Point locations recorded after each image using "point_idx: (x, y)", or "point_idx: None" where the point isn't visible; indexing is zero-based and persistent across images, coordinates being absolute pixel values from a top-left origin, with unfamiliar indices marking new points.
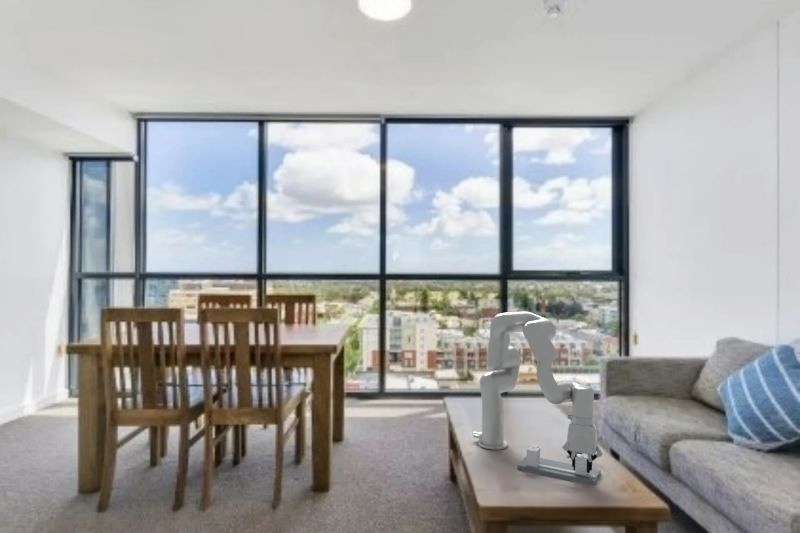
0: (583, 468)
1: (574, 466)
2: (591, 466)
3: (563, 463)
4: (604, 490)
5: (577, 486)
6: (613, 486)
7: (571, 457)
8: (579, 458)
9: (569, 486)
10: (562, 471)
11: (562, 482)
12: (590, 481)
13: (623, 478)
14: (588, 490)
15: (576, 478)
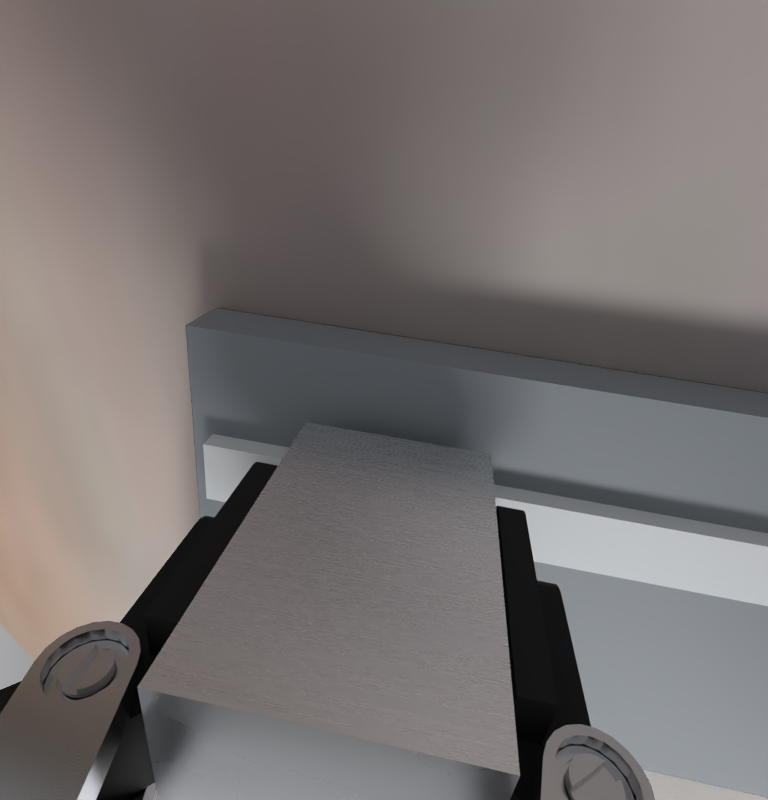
0: (324, 499)
1: (512, 551)
2: (172, 571)
3: (638, 746)
4: (64, 188)
5: (443, 155)
6: (28, 374)
7: (631, 776)
8: (376, 722)
9: (584, 80)
10: (692, 521)
11: (702, 221)
12: (253, 330)
13: (32, 592)
14: (257, 57)
15: (465, 362)
